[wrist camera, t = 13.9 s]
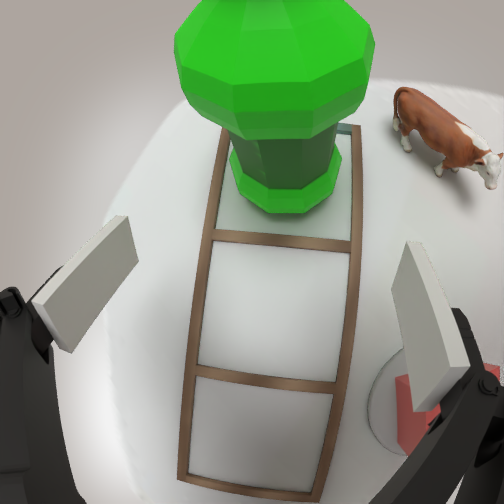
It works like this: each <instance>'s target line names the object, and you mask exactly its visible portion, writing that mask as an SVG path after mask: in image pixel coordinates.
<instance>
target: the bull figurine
mask: <svg viewBox="0 0 504 504" xmlns="http://www.w3.org/2000/svg"><path fill="white" fill-rule="evenodd" d="M397 100H398V103H397ZM397 108H398V113H397ZM398 114H399V116H398ZM393 127H394V129H395V131H399V130H400V131H401V134H402V141H401V145H403V146H404V150H405V151H406V152H408V153H410V152H411V151H412V148H411V144H410V142H409V139H408V136H409V133H410V132H411V131H412V130H413V129H416V130H418V132H419V133H420V135H421V137H422V139H423V141H424V142H425V143H426V144H427V145H428V146H429V147H430V148H432V149H433V150H435V151H437V152H440V153H442V154H443V155H445V156H446V158H445V160H443V161H442V163H441V164H440V165H437V166H435V167H434V169H435V170H436V172H435V174H436V175H437V176H438V177H442V174H443V169H449V168H451V169H452V171H453V172H455V173H456V172H458V170H459V169H458V167H462V168H468V169H471V170H472V171H478V172H479V174H480V176H481V177H482V178H483V179H484V180H485V187H486V188H487V189H489V190H493V189H496V188H497V179H498V177H499V174H500V171H501V165H500V159H501V158H502V157H503V153H501V154H498V155H496V154H493V153H492V151H491V150H490V148H489V146H488V144H487V142H486V141H485V139H484V138H482V137H481V136H479V135H477V134H476V133H475V132H474V131H473V130H472V129H471V128H470V127H469V126H467V125H466V124H464V123H462V122H461V121H459V120H458V119H457V118H456V117H454V116H453V115H452V114H450V113H449V112H448V111H446V110H445V109H443V108H442V107H441V106H440V105H438V104H437V103H436V102H435V101H434V100H432V99H431V98H429V97H428V96H426V95H424V94H423V93H421V92H420V91H418V90H416V89H413V88H408V87H401V88H399V89H398V90H397V91H396V92H395V95H394V117H393Z"/></svg>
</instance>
